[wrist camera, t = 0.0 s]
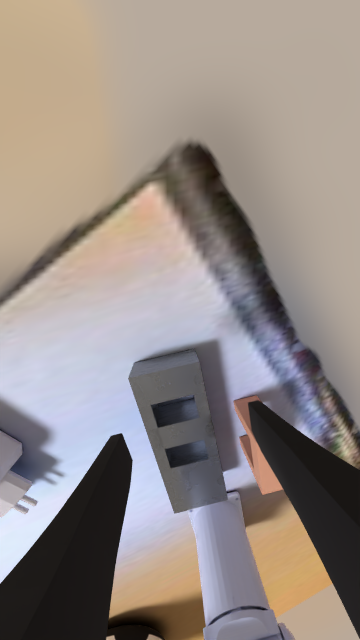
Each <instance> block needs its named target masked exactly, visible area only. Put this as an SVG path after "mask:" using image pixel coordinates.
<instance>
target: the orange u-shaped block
mask: <svg viewBox="0 0 360 640" xmlns="http://www.w3.org/2000/svg"><path fill="white" fill-rule="evenodd" d="M256 400H259V401H260V399H259V398H258V397H257V395H255V396H251V397H247V398H243V399H239V400H235V401H234V406H235V411H236V413H237V415H238V417H239V419H240V421H241V423H242V425H243V427H244V428H245V430H246V432H247V434H248V435H245V436H241V437H239V438H240V444H241V447H242V449H243V452H244V454H245V456H246V458H247V461H248V463H249V465H250V467H251V470H252V472H253V474H254V476H255V479H256V481H257V483H258V486H259V488H260V490H261V492H262V495H263V494H267V493H271V492H275V491H279V490H283V488H282V486H281V484H280V483H279V481H278V479H277V478H276V476H275V474H274V473H273V471H272V469H271V467H270V466H269V464H268V462H267V461H266V459H265V457H264V455H263V454H262V452H261V450H260V448H259V446H258V444H257V442H256V439H255V437H254V435H253V433H252V431H251V423H250V416H249V408H248V402H252V401H256Z"/></svg>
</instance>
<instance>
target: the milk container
mask: <svg viewBox="0 0 360 640" xmlns="http://www.w3.org/2000/svg"><path fill="white" fill-rule="evenodd" d="M106 640H165V639H164V638H163V636H162V635H161V634H160V633H159V632H158V631H156V630H154V629H152V628H149V627H147V626H139V625H123V626H119V627H114V628H111V629H108V630H107V637H106Z"/></svg>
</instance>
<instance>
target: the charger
mask: <svg viewBox="0 0 360 640" xmlns="http://www.w3.org/2000/svg"><path fill="white" fill-rule="evenodd" d="M22 454H23V451H22V443H21V442H19V441H17V440H16V439H14V438H12V437H11V436H9V435H7V434H5V433H4V432H2V431H0V517H3V516H4V515H5V514H6V513H7V512H8V511H9V510H10V509H12V508H13V509H15V510H17V511H19V512H21V513H24V514H26V513H27V512H28V510H29V509H28V508H26V507H23V506H21V505H19V504H17V502H18V501H19V500H22V501H24V502H26V503H28V504H30V505H32V506H35V505H36V504H37V502H38V501H36V500H34V499H32V498H30V497H28V496H26V495H24V494H25V493H26V492H27V491H28V490H29V488H30V487H31V486H32V483H33V482H31V481H29V480H27V479H25V478H24V477H22V476H20V475H18V474H16V473H14V472H12V471H10V468H11V467H12V466H13V465H14V464H15V462H16V461H17V460H18V459H19V457H20V456H21V455H22Z"/></svg>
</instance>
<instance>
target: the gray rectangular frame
mask: <svg viewBox="0 0 360 640" xmlns="http://www.w3.org/2000/svg"><path fill="white" fill-rule="evenodd" d="M128 379H129V382H130V385H131V388H132V391H133V394H134V397H135V399H136V402H137V405H138V408H139V411H140V414H141V417H142V420H143V423H144V426H145V429H146V432H147V435H148V438H149V440H150V443H151V446H152V449H153V452H154V455H155V458H156V461H157V464H158V467H159V470H160V473H161V476H162V479H163V481H164V484H165V487H166V490H167V493H168V496H169V499H170V502H171V505H172V508H173V511H174V514H175V513H179V512H183V511H186V510H190V509H194V508H198V507H202V506H206V505H210V504H214V503H218V502H222V501H226V500H228V497H227V492H226V487H225V482H224V477H223V473H222V468H221V463H220V458H219V453H218V449H217V444H216V439H215V434H214V429H213V424H212V420H211V415H210V410H209V405H208V400H207V396H206V391H205V386H204V381H203V376H202V372H201V367H200V362H199V359H198V357H197V354H196V351H195V349H191V350H187V351H183V352H178V353H174V354H170V355H166V356H161V357H157V358H153V359H149V360H144V361H140V362H136V363H134V364H133V367H132V370H131V372H130V375H129V378H128ZM190 395H194V399H190V400H186V401H182V402H177V403H173V404H169V405H165V406H161V407H159V405H158V403H161V402H165V401H169V400H173V399H177V398H182V397H186V396H190Z"/></svg>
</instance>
